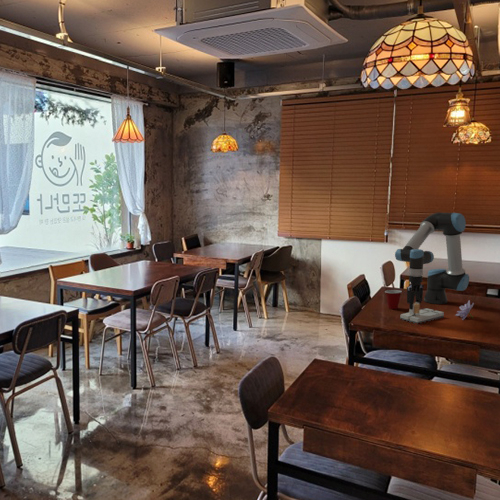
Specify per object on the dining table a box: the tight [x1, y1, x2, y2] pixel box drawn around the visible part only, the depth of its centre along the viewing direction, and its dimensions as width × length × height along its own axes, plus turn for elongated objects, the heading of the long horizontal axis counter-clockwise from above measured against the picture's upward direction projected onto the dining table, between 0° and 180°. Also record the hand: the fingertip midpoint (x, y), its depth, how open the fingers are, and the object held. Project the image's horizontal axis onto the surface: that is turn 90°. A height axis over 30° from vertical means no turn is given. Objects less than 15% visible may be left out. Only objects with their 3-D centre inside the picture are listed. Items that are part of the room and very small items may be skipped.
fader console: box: [399, 307, 445, 325], centre depth 278 cm, size 12×26×3 cm, turn 124°
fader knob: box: [408, 302, 421, 316], centre depth 273 cm, size 5×3×9 cm, turn 34°
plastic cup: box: [384, 289, 402, 310], centre depth 302 cm, size 11×11×12 cm
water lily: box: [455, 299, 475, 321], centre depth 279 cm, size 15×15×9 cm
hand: (414, 313), depth 273 cm, fingers open, 4 cm apart
